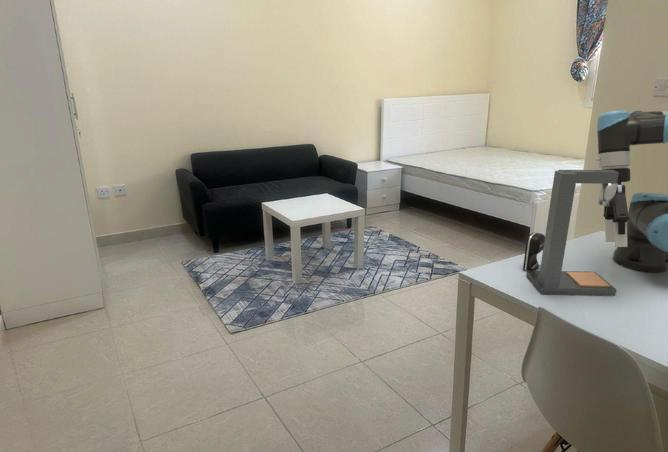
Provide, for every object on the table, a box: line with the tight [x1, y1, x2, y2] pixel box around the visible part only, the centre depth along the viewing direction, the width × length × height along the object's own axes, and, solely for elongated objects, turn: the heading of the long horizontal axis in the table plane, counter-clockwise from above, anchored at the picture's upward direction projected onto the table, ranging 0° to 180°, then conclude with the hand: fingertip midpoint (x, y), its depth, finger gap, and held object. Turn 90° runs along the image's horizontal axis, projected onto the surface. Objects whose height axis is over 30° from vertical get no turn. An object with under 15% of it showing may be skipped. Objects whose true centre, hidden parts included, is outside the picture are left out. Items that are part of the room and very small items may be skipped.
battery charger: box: [522, 231, 545, 272], centre depth 142 cm, size 7×4×11 cm, turn 138°
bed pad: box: [567, 271, 610, 287], centre depth 131 cm, size 8×9×1 cm
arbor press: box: [525, 169, 619, 297], centre depth 127 cm, size 20×12×34 cm, turn 87°
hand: (615, 244), depth 128 cm, fingers open, 13 cm apart
